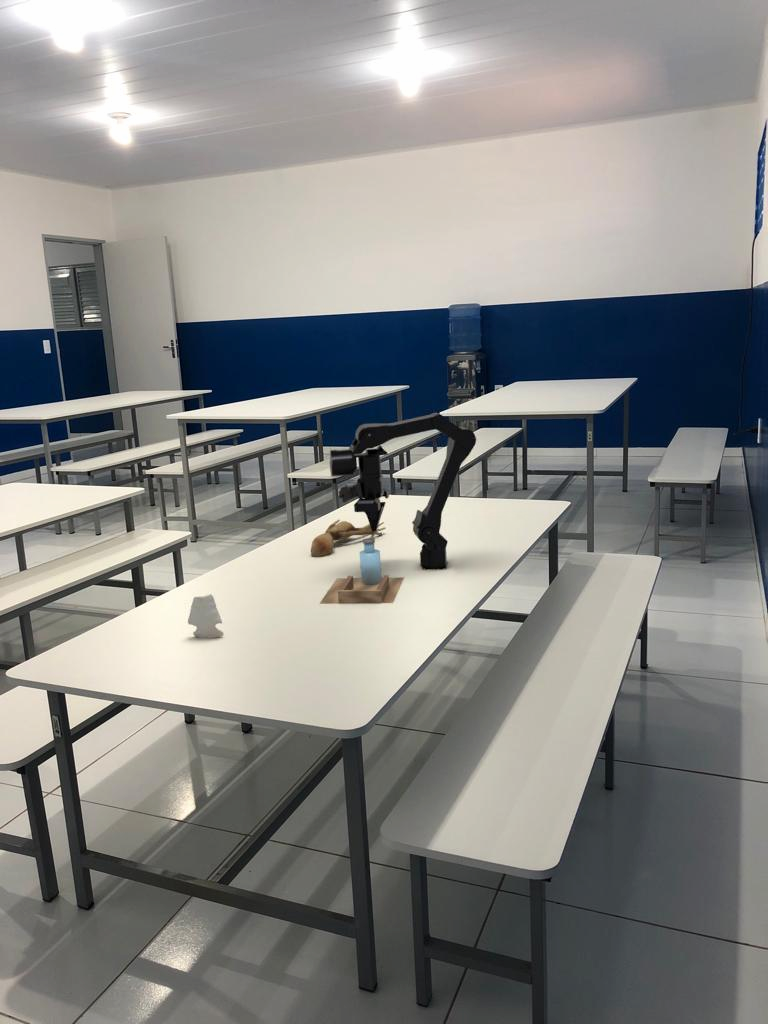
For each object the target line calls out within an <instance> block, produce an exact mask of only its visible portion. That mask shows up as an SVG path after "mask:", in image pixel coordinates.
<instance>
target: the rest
mask: <svg viewBox="0 0 768 1024" xmlns="http://www.w3.org/2000/svg"><path fill="white" fill-rule="evenodd" d="M404 580H405V576H402V577H398V576H396V577H395V576H394V577H390V576H389V574H385V575H383V576H382V580H381V582H380V583H379V584H376V585H364V584H362V579H361V577H354V576H353V575H347V577H346V578H345V577H344V578H343V577H342V578H340V577H339V578H336V579H335V581H333V583H332V584H331V586H330V588H329V589H328V590H327V592H326V593H325V595H324V596H323V597H322V599H321V601H320V602H319V604H320V605H323V604H324V605H325V604H326V605H330V604H339V605H341V604H393V603H394V602H395V601H396V597H397V595H398V593H399V591H400V589H401V586H402V584H403V582H404Z"/></svg>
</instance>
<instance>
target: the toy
mask: <svg viewBox="0 0 768 1024" xmlns="http://www.w3.org/2000/svg"><path fill="white" fill-rule="evenodd" d="M384 523H385V522H381V523H380V522H379V524H378V527H377V530H376V531H372V530H371V527H370V524H369V523H368V524H366V525H365V526H363V527H355V526H354V525H353V524H352V523H351V522H348V521H346V520H345V521H343V520H340V519H337V520H336V521H334V522H333V523H332V524H329V526H328V527H327V528H326V530H325V532H324V533H322V534H319V535H317V536H316V537H314V539H313V541H312V544H311V548H310V555H311V556H312V557H318V558H319V557H325V556H329V554H330V553H332V552H333V551H334V550H333V549H334V546H335V545H334V542H337V541H341V540H346V539H349V538H350V537H352V536H365V535H371V536H372V537H374V536H375V535H376V536H382V535H383V534H382V533H383V532H382V531H384V530H386V527H381V528H379V527H380V526H382V525H383V524H384ZM380 531H381V532H380ZM381 534H382V535H381ZM373 535H374V536H373Z"/></svg>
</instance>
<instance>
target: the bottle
mask: <svg viewBox="0 0 768 1024" xmlns="http://www.w3.org/2000/svg"><path fill="white" fill-rule="evenodd" d="M375 541H376V539H375V538H374V537H373V538H372V537H368V538H367V537H366V538H364V539H363V540H362V544H363V548H364V550H361V551H359V563H360V576H361V577H360V578H361V579H362V584H364V585H376V584H379V583H380V582H381V580H382V578H383V576H382V563H381V551H380V550H379V549H376V548H375V543H376V542H375Z"/></svg>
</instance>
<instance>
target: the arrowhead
mask: <svg viewBox="0 0 768 1024" xmlns="http://www.w3.org/2000/svg"><path fill="white" fill-rule="evenodd" d="M189 610H190V612H189V615H188V618H187V624H188V625H192V626H194V627H196V629H195V630H194V631H193V633H192V635H193V636H194V637H197V638H198V637H205V638H208V637H214V638H221V637H223V636H224V632H223V631H222V630H221V629H219V628H217V626H216V625H217V624H223V620H222V618H221V615H220V612H219V610H218V608H217V603H216V601H215V597H214V595H213V594H212V593H209V594H205V595H201V596H199V595H198V596H194V597H193V599H192V603H191V606H190V609H189Z"/></svg>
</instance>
